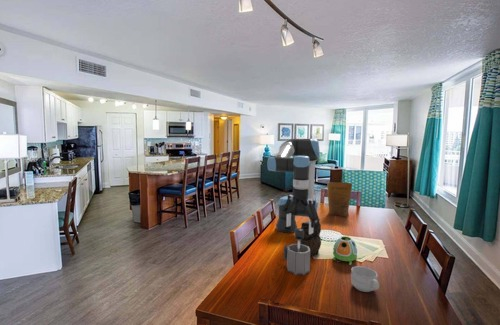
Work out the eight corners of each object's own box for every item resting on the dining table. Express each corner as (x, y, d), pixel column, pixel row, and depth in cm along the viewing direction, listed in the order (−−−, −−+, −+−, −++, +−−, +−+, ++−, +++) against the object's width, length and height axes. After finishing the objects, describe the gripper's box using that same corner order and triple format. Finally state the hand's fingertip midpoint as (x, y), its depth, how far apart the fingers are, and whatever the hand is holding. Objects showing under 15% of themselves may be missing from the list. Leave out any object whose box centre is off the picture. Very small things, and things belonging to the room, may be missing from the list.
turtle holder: (359, 254, 156) (361, 233, 154) (354, 267, 140) (355, 245, 139) (337, 249, 162) (338, 229, 160) (330, 261, 146) (331, 240, 145)
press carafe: (277, 266, 140) (278, 245, 139) (291, 259, 148) (291, 240, 147) (300, 277, 130) (301, 255, 129) (313, 269, 138) (314, 248, 136)
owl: (321, 250, 159) (322, 217, 157) (319, 260, 147) (321, 224, 145) (299, 247, 163) (300, 215, 161) (296, 257, 151) (297, 222, 149)
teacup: (346, 281, 127) (347, 265, 126) (368, 281, 128) (369, 264, 127) (360, 300, 113) (362, 282, 112) (385, 299, 114) (387, 281, 113)
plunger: (287, 266, 138) (288, 229, 136) (296, 261, 143) (297, 226, 141) (299, 272, 132) (301, 233, 130) (308, 267, 137) (310, 229, 135)
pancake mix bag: (349, 217, 220) (351, 183, 217) (325, 214, 229) (327, 181, 226) (350, 215, 226) (352, 182, 223) (327, 212, 235) (328, 180, 232)
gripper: (276, 184, 139) (275, 224, 142) (318, 193, 121) (316, 239, 124) (285, 182, 145) (284, 221, 147) (327, 190, 127) (325, 234, 129)
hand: (299, 229), depth 136 cm, fingers open, 13 cm apart
